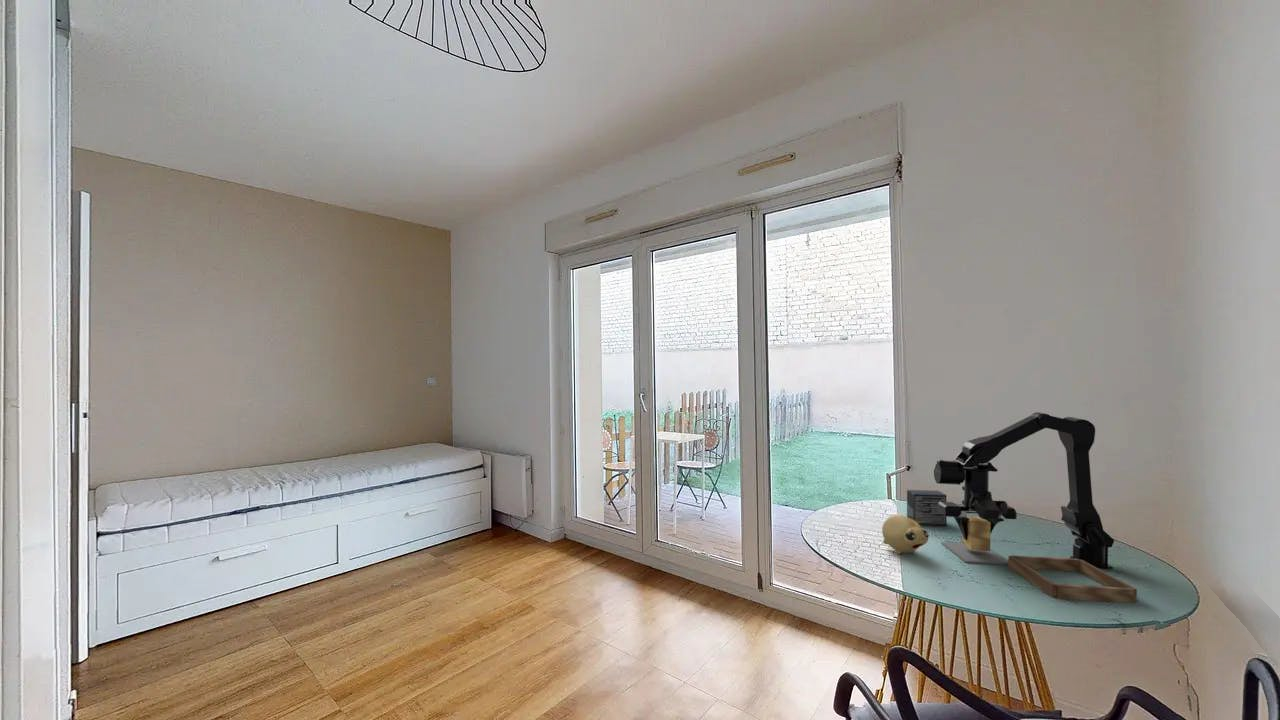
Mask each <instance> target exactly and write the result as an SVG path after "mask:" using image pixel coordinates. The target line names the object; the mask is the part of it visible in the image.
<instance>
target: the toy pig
mask: <svg viewBox="0 0 1280 720" xmlns="http://www.w3.org/2000/svg"><path fill="white" fill-rule="evenodd" d="M881 531H882V532H881V533H882V537H883V541H882V543H883V544H884V545H888V546H890V547H891V549H893V550H894V551H895V554H896V555H901V554H902V553H905V554H909V553H912V554H914V553H916V550H918V549H919V548H920V547H922V546H924V545H926V544H927V543H928V542H929V537H930V536H929V533H928V531H927V530H925V529H924V528H922V529H920V528H919V527H918V526H917V525H916V524H915V523H914V522H912V521H911V520H910V519H909V518H907V515H904V514H903V513H896V514H892V515H890V516H888V517H887V518H886V519H885V521H884V522H883V524H882V527H881Z"/></svg>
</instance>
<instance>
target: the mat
mask: <svg viewBox="0 0 1280 720" xmlns="http://www.w3.org/2000/svg"><path fill="white" fill-rule="evenodd" d="M940 543H941V545H942V546H944V547H945V548H946V549H948V551H950V552H951V553H953V554H954V555H955V556H956V557H958V558H959V559H960V560H961V561H962V562H963V563H966V564H980V563H984V565H1000V564H1001V566H1002V565H1003V566H1008V558H1005V557H1004V556H1003V555H1001V554H1000V553H998V552H997V551H995V550H993V549H992V548H991V547H990V551H977V550H970V549H969V548H967V547H966V546H965V545H963V544H962V542H947V541H946V542H943V541H941V542H940Z"/></svg>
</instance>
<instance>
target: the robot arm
mask: <svg viewBox="0 0 1280 720" xmlns="http://www.w3.org/2000/svg"><path fill="white" fill-rule="evenodd" d="M1045 429H1050V430H1053V431H1057V433H1058V436H1059V440H1060V441H1061V443H1062V445H1063V447H1064V449H1065V451H1066V464H1067V467H1066V468H1067V475H1068V476H1067V478H1068V489H1069V490H1068V491H1069V502H1068V503H1067V506H1065V505H1064V506H1063V505H1061V506H1060V510H1061V513H1062V514H1061V516H1062V517H1061V521H1063V523H1064V525H1065V527H1067V529H1069V530H1070V533H1071V535H1072V536H1075V538H1074V543H1073V544H1072V556H1071V555H1070V558H1073V559H1079V560H1084V561H1085V562H1087V563H1089V564H1091V565H1093V566H1095V567H1097V568H1098V569H1110V570H1111V569H1113V566H1112V565H1110V564H1109V548H1112V547H1113V545H1114V542H1115V539H1114V538H1113V537H1112V536H1111V535H1109V534H1108V533H1107V532H1106V531H1105V530H1104V526H1103V523H1102V520H1101V519H1102V518H1101V516H1100V514H1099V512H1098V510H1097V509H1096V507H1095V505H1094V503H1093V486H1092V474H1091V465H1090V464H1091V462H1090V450H1091V449H1092V447H1093V445H1094V443H1095V439H1096V438H1095V437H1096V427H1095V425H1094V424H1093V423H1092V422H1091V421H1089V420H1087V419H1083V418H1078V417H1073V416H1065V417H1063V418H1062V417H1057V416H1053V415H1050V414H1048V413H1044V412H1039V411H1038V412H1037V411H1036V412H1033V413H1032V414H1030V415H1029V416H1026V418H1022V419H1021V420H1019V421H1017V422H1014V423H1013V424H1011V425H1009V426H1007V427H1005V428H1003V429H1001V430H999V431H997V432H995V433H993V434H990V435H987V436H980V437H977V438H973V439H970V440H967V441H965V442H963V445H962V448H961V451H959V453H958V454H957V455H956V456H955V458H953V460H944V459H936V464H935V467H934V468H933V477H934V480H935V483H936V484H938V485H939V484H940V485H958V486H959V485H961V484H963V483H964V486H963V485H962V486H961V487H962V491H964V493H963V495H964V496H963V498H964V499H962V501H961V504H962V505H958V504H957V503H955V502H953V501H946V502H939V503H938V505H937V511H939V512H940V513H942V514H943V515H945V516H946V517H951V518H952V517H953V518H954V521H956V524H957V525H958V527H959V531H960V532H961V536H962V535H963V537H964V539H965V540H967V539H968V524H967V523H968V521H969V518H967V517H966V516H967V514H977V515H978V517H980V518H982V519H985V520H987V521H989V522H990V523H991V524H990V536H991V534H992V532H993V530H994V529H995V527H996V526H997V524H999V523H1000V522H1004V521H1005V519H1006V520H1017V519H1018V512H1017V510H1016V509H1015V508H1014V507H1013V506H1010V505H1008V503H1007V502H1006V500H994V499H993V497H992V496H993V494H992V492H991V491H989V481H990V478H989V476H990V475H989V472H993V473H995V472H999V471H998V470H999V469H998V468H996V467H995V466H994V465H993V464H992V462H991V460H993V459H994V458H996V457H997V456H998V455H999V454H1000V453H1001V452H1002V451H1003V450H1004V449H1005V448H1007V447H1009V446H1012V445H1013V444H1016V443H1017V442H1020V441H1021V440H1024V439H1026V438H1027V437H1029V436H1032V435H1035V434H1036V433H1038V432H1040V431H1042V430H1045Z"/></svg>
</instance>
